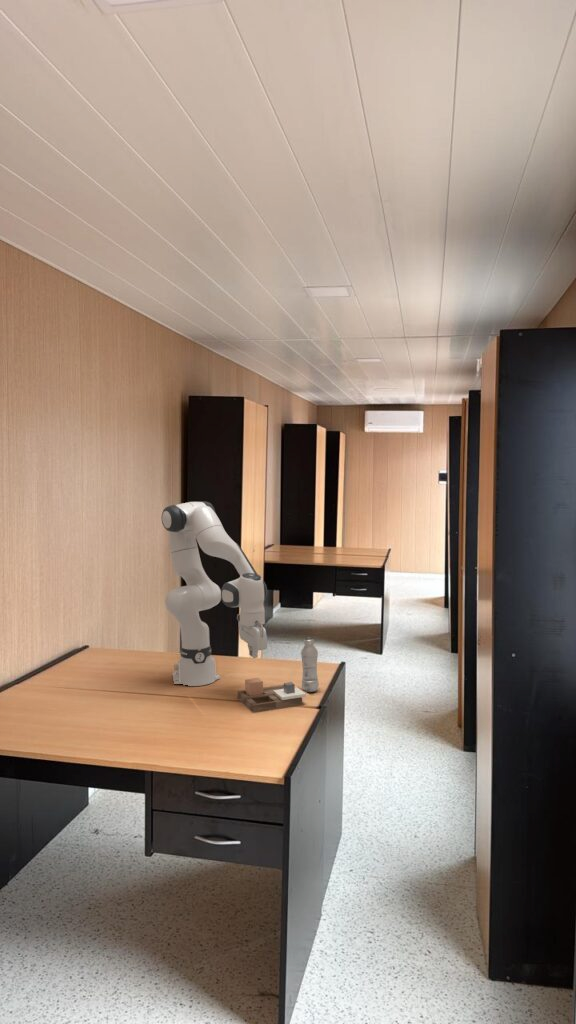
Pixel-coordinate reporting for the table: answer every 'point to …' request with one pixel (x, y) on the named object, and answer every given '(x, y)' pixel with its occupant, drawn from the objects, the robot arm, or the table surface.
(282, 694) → the lid
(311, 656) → the plastic bottle
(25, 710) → the table surface
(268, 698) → the board
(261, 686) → the block
